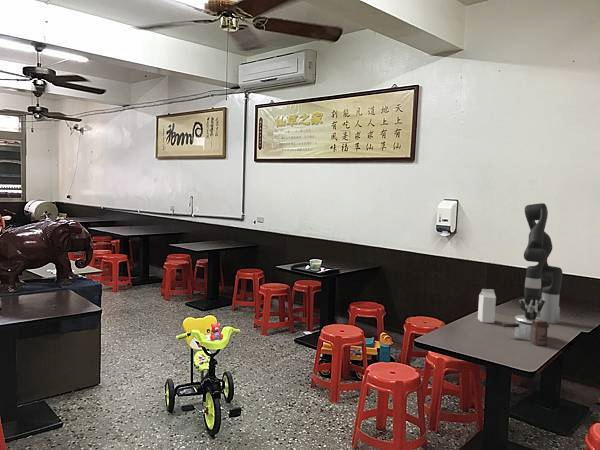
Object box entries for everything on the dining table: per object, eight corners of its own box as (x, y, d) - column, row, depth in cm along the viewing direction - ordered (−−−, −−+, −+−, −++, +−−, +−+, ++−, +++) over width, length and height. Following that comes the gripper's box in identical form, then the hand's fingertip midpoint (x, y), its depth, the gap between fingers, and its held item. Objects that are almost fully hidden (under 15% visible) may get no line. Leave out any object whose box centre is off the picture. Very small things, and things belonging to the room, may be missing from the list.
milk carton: (494, 323, 268) (496, 290, 267) (481, 322, 268) (484, 290, 267) (489, 319, 275) (491, 288, 274) (477, 319, 275) (479, 287, 274)
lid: (534, 316, 251) (535, 308, 251) (553, 324, 237) (553, 316, 236) (508, 316, 250) (509, 308, 249) (525, 324, 235) (526, 316, 235)
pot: (538, 332, 252) (539, 318, 251) (554, 341, 238) (556, 326, 237) (495, 332, 249) (496, 318, 249) (509, 341, 235) (510, 325, 235)
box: (541, 342, 234) (543, 319, 233) (546, 345, 230) (548, 322, 229) (530, 342, 234) (531, 319, 233) (535, 345, 229) (537, 321, 228)
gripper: (541, 285, 246) (538, 317, 247) (516, 284, 245) (513, 316, 246) (550, 288, 239) (547, 321, 240) (524, 287, 237) (521, 320, 239)
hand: (530, 318), depth 243 cm, fingers closed on lid, 3 cm apart
